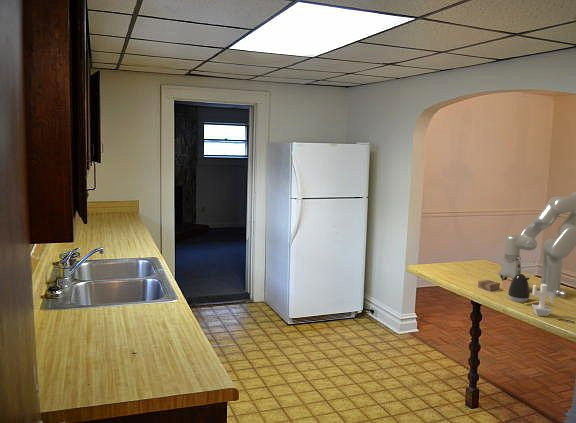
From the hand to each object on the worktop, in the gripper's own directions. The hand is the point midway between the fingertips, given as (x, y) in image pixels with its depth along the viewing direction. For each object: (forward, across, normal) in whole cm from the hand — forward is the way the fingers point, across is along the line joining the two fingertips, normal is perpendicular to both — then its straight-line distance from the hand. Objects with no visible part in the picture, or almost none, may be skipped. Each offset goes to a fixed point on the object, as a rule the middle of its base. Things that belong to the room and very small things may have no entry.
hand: (509, 288), depth 283 cm
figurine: (+2, -34, +22) cm, 41 cm away
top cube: (0, 0, 0) cm, 0 cm away
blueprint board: (+1, +2, +6) cm, 7 cm away
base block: (0, +5, +11) cm, 12 cm away
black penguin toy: (+2, -16, +14) cm, 21 cm away
